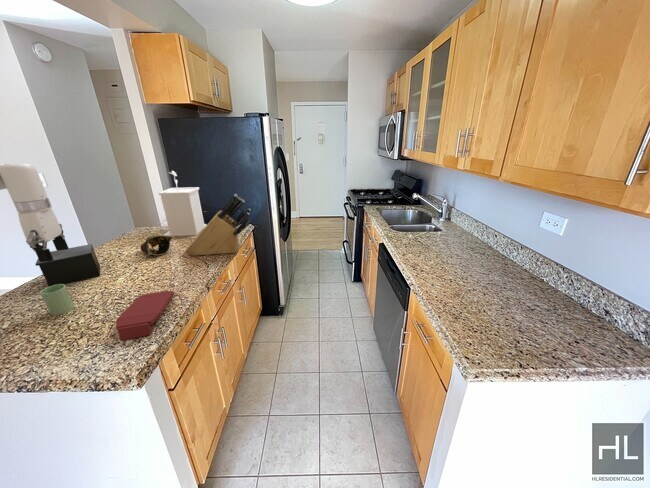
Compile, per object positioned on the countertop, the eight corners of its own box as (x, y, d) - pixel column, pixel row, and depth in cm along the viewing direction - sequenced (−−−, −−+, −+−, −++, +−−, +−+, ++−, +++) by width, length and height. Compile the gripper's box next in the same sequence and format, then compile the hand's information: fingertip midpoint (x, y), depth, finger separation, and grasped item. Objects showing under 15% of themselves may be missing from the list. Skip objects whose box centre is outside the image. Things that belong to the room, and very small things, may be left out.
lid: (36, 265, 104) (30, 254, 103) (41, 255, 114) (36, 244, 112) (92, 254, 115) (88, 244, 113) (92, 245, 124) (88, 235, 123)
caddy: (49, 288, 109) (38, 265, 105) (53, 276, 119) (43, 254, 115) (100, 275, 119) (92, 254, 115) (99, 265, 129) (92, 245, 124)
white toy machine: (159, 237, 166) (142, 172, 151) (177, 223, 191) (164, 167, 176) (198, 235, 168) (185, 172, 153) (210, 222, 193) (200, 167, 178)
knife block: (253, 252, 143) (247, 196, 131) (185, 257, 137) (172, 199, 126) (255, 244, 153) (249, 192, 141) (192, 248, 148) (180, 194, 136)
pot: (153, 230, 150) (167, 225, 140) (166, 245, 155) (182, 241, 145) (126, 249, 138) (140, 245, 128) (142, 264, 144) (156, 262, 134)
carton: (142, 306, 103) (112, 341, 80) (139, 294, 102) (108, 327, 78) (176, 300, 106) (157, 333, 83) (174, 289, 105) (154, 319, 82)
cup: (46, 317, 91) (35, 295, 88) (56, 306, 97) (46, 286, 94) (69, 312, 94) (59, 291, 90) (77, 303, 99) (68, 282, 96)
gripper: (35, 200, 87) (55, 247, 94) (-3, 213, 72) (24, 268, 79) (63, 198, 90) (80, 244, 96) (32, 211, 75) (55, 264, 81)
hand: (55, 255), depth 88 cm, fingers open, 9 cm apart
